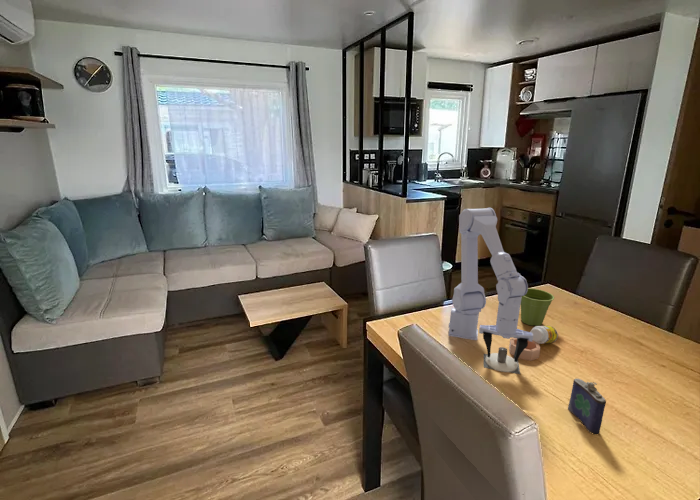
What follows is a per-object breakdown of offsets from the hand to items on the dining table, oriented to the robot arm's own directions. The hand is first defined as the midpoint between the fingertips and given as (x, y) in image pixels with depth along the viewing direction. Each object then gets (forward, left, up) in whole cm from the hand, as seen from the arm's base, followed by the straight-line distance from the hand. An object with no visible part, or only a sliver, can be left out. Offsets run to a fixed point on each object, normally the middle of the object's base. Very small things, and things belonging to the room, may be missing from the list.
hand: (501, 357), depth 115 cm
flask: (+18, -19, -3) cm, 26 cm away
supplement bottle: (+16, +21, 0) cm, 26 cm away
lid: (0, 0, -2) cm, 2 cm away
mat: (0, 0, -2) cm, 2 cm away
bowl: (+7, +9, -2) cm, 12 cm away
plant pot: (+12, +34, -3) cm, 36 cm away
